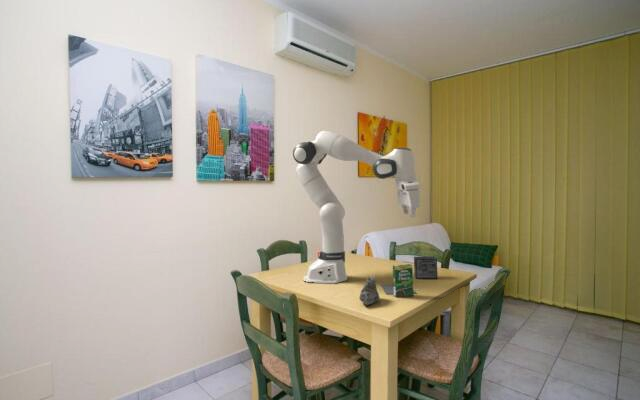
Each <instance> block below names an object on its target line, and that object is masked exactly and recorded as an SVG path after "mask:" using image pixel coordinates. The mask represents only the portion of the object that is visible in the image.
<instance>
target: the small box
mask: <svg viewBox="0 0 640 400" xmlns="http://www.w3.org/2000/svg"><path fill="white" fill-rule="evenodd" d="M413 268H414V269H413V270H414V271H413V274H414V275H413V277H414V278H415V279H416V280H438V258H437V257H436V256H413Z"/></svg>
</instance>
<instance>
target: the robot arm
mask: <svg viewBox="0 0 640 400" xmlns="http://www.w3.org/2000/svg"><path fill="white" fill-rule="evenodd" d="M327 155H328V156H330V157H332V158H334V159H336V160H340V161H344V162H350V161H351V162H352V161H353V162H354V161H355V162H362V163H365V164H368V165H370V166H371V167H372V173H373V174H374V176H375V177H377V178H378V179H382V180H386V179H390V178H395V179H394V180H395V188H396V190H397V191H396V193H397V195H396V196H397V202H398V204H401V207H402V212H403V214H404V215H409V216H410V217H411V218H415V217H416V209H417V208H419V207H420V205H421V195H420V194H421V193H420V188H421V185H420V182H418V179H417V176H416V172H415V167H416V163H415V157H414V153H413V151H412V149H410V148H408V147H395V148H393V150H392V151H390V152H389V153H388V154H386V155H383V154H380V153H377V152H375V151H372V150H370V149H368V148H365V147H363V146H362V145H360V144H358V143H356V142H354V141H353V140H351V139H349V138H348V137H345V136H344V135H342V134H339V133H336V132H333V131H330V130H322V131H320V132H319V133H318V134H317V135H316V137H315V140H313V139H312V140H307V141H303V142H300V143H298V144H297V145H295V147H294V148H293V149H292V156H293V159H294V161H295V162H296V163H297V164H298V165H297V166H296V168H295V169H296V170H295V171H296V174H297V177H298V179H299V181H300V184H301V185H302V186H303V188H304V190H305V192H306V193H307V195H308V196H309V198H310V199H311V201H312V202H313V203H314V204H315V205H316V207H317V208H318V209H319V214H318V215H319V220H320V222H319V223H320V232H321V240H322V242H321V245H322V246H321V248H322V249H321V250H318V251H317V255H318V258H317V259H316V260H315V261H314V262H313V263H311V264H310V265H309V267H308V268H307V269H308V270H307V273H306V274H305V275H303V279H302V281H303V280H304V281H306V282H305V283H307V282H314V283H313V284H338V283H341V282H345V281H347V280H348V274H347V272H346V271H347V270H346V264H345V263H346V252H345V236H344V227H343V226H344V225H343V219H344V217H345V214H346V212H345V211H346V210H345V208H344V206H343V204H342V202H340V200H339V199H338V197H337V196H336V194H335V193H334V192H333V190H332V189H331V187H330V186H329V185H328V183H327V181H326V180H325V178H324V176H323V175H322V173H321V171H320V170H319V169H318V165H321V164H322V162H323V160H324V159H325V158H326V157H327ZM408 208H409V209H410V212H409V209H408ZM304 281H303V282H304Z"/></svg>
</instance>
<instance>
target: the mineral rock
mask: <svg viewBox="0 0 640 400" xmlns="http://www.w3.org/2000/svg"><path fill="white" fill-rule="evenodd" d="M376 281H377V280H376V278H375V277H374V276H368V277H367V279H366V282H365V285H364V286H363V287H362V289H361V290H360V292H359V293H360V294H359V301H361V302H362V303H363V305H365V306H366V305H372V304H374V303H376V302H377V301H379V300H380V293H378V288H377V282H376Z"/></svg>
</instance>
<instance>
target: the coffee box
mask: <svg viewBox="0 0 640 400" xmlns="http://www.w3.org/2000/svg"><path fill="white" fill-rule="evenodd" d="M413 270H414V269H413V265H412V264H410V263H409V264H395V265H392V285H393V293H394V294H393V297H395V298H406V297H414V294H413V290H414V275H413V274H414V271H413Z"/></svg>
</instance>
